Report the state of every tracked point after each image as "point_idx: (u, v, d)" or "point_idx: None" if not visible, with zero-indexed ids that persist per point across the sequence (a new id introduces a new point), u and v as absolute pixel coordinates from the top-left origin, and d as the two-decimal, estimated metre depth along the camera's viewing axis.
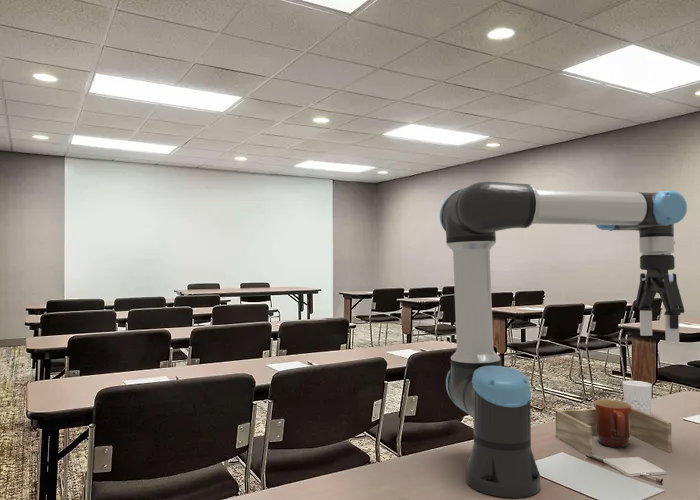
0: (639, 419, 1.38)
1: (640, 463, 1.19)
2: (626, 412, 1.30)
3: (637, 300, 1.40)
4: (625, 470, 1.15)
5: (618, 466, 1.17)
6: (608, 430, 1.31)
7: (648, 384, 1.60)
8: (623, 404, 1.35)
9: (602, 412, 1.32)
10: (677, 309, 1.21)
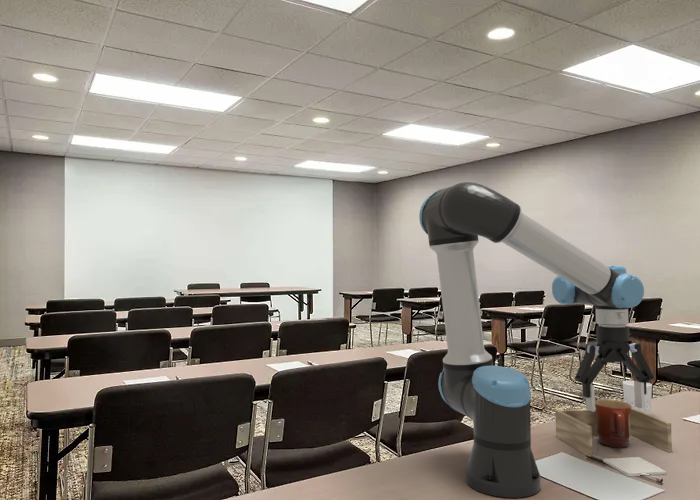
0: (639, 419, 1.38)
1: (640, 463, 1.19)
2: (626, 412, 1.30)
3: None
4: (625, 470, 1.15)
5: (618, 466, 1.17)
6: (608, 430, 1.31)
7: (648, 384, 1.60)
8: (623, 404, 1.36)
9: (602, 412, 1.32)
10: (577, 378, 1.32)
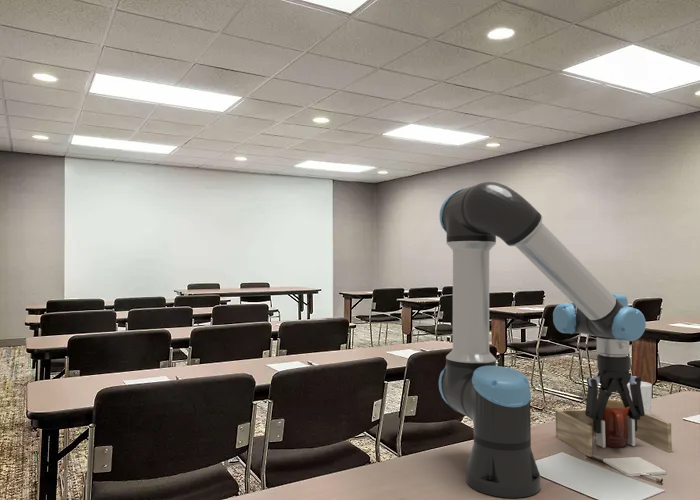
0: (639, 419, 1.38)
1: (640, 463, 1.19)
2: (625, 412, 1.30)
3: None
4: (625, 470, 1.15)
5: (618, 466, 1.17)
6: (607, 430, 1.31)
7: (648, 384, 1.60)
8: (622, 404, 1.35)
9: None
10: (587, 413, 1.32)
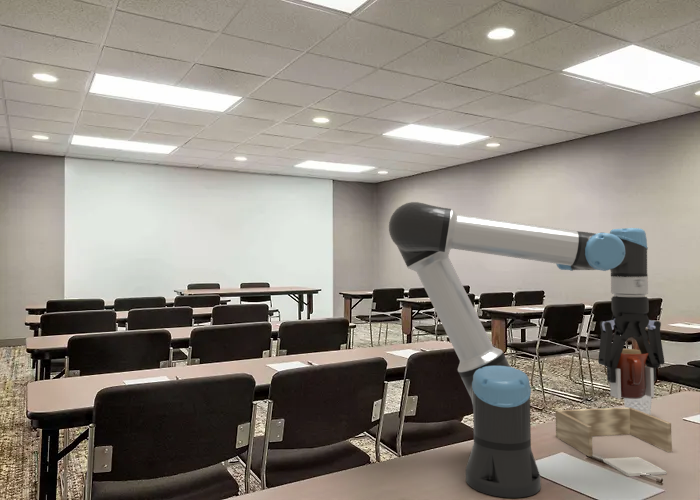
0: (639, 419, 1.38)
1: (640, 463, 1.19)
2: (643, 359, 1.17)
3: None
4: (625, 470, 1.15)
5: (618, 466, 1.17)
6: (622, 379, 1.17)
7: None
8: (639, 352, 1.22)
9: None
10: (600, 361, 1.18)
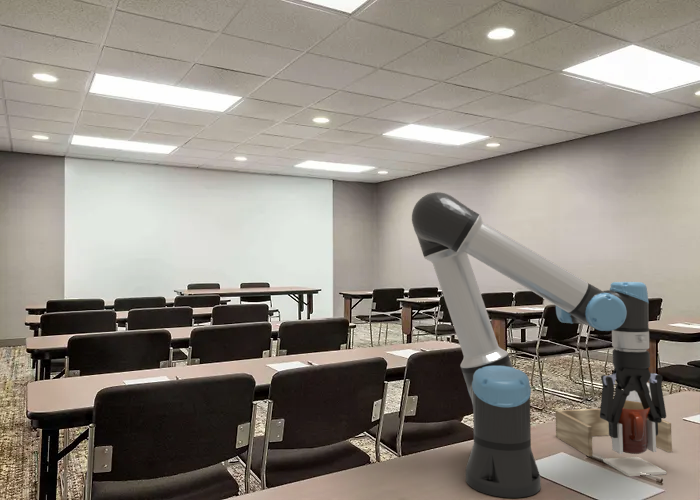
0: None
1: (640, 463, 1.19)
2: (644, 414, 1.16)
3: None
4: (625, 470, 1.15)
5: (618, 466, 1.17)
6: (624, 434, 1.17)
7: (648, 384, 1.60)
8: (640, 405, 1.21)
9: None
10: (602, 416, 1.17)
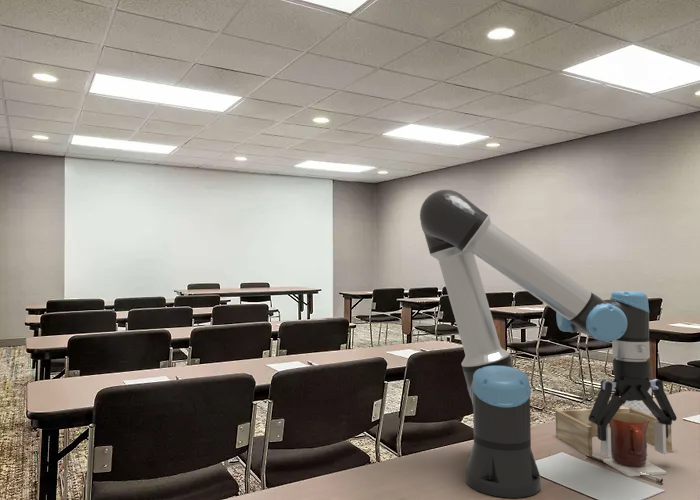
0: None
1: None
2: (644, 427, 1.16)
3: None
4: (625, 470, 1.15)
5: (618, 466, 1.17)
6: (623, 447, 1.17)
7: None
8: (640, 417, 1.21)
9: (617, 427, 1.18)
10: (591, 418, 1.17)
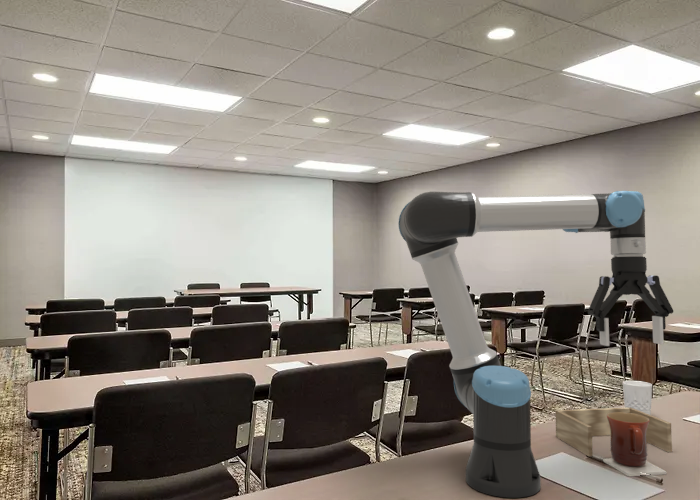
0: None
1: None
2: (644, 427, 1.16)
3: None
4: (625, 470, 1.15)
5: (618, 466, 1.17)
6: (624, 447, 1.17)
7: (648, 384, 1.60)
8: (640, 417, 1.21)
9: (617, 427, 1.18)
10: (590, 311, 1.24)
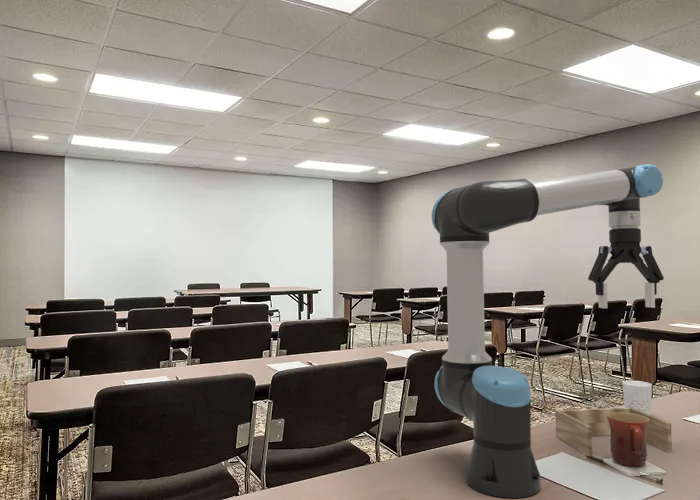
0: None
1: None
2: (644, 427, 1.16)
3: None
4: (625, 470, 1.15)
5: (618, 466, 1.17)
6: (624, 447, 1.17)
7: (648, 384, 1.60)
8: (640, 417, 1.21)
9: (617, 427, 1.18)
10: (590, 277, 1.38)
